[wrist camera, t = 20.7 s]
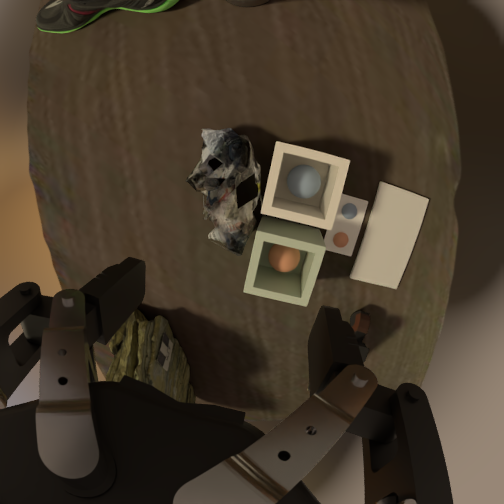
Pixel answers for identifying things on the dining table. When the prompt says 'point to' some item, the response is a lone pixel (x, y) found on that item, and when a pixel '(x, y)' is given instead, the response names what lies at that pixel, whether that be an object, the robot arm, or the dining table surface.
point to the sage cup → (293, 282)
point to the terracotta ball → (283, 258)
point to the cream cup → (310, 209)
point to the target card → (346, 225)
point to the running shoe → (89, 12)
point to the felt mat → (389, 236)
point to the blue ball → (303, 181)
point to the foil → (226, 186)
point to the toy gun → (359, 331)
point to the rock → (151, 357)
